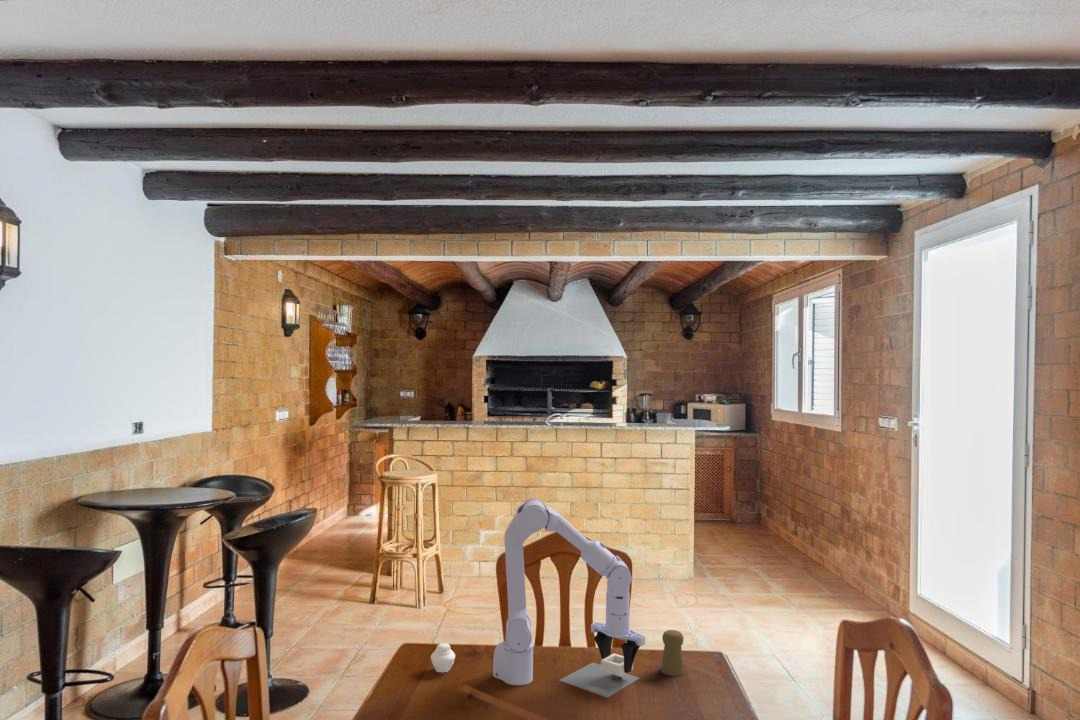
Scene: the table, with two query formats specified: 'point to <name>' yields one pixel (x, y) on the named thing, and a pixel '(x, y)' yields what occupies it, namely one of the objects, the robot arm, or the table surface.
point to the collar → (613, 665)
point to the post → (615, 677)
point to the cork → (672, 653)
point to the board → (598, 680)
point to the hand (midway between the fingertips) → (617, 668)
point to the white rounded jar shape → (443, 658)
